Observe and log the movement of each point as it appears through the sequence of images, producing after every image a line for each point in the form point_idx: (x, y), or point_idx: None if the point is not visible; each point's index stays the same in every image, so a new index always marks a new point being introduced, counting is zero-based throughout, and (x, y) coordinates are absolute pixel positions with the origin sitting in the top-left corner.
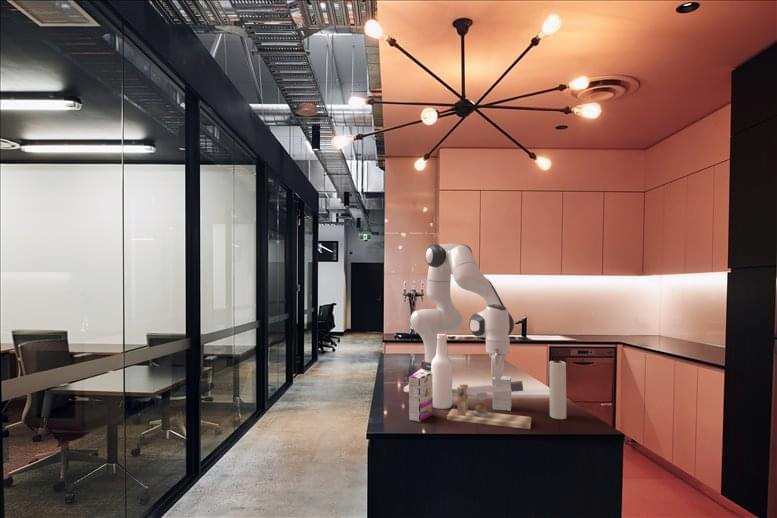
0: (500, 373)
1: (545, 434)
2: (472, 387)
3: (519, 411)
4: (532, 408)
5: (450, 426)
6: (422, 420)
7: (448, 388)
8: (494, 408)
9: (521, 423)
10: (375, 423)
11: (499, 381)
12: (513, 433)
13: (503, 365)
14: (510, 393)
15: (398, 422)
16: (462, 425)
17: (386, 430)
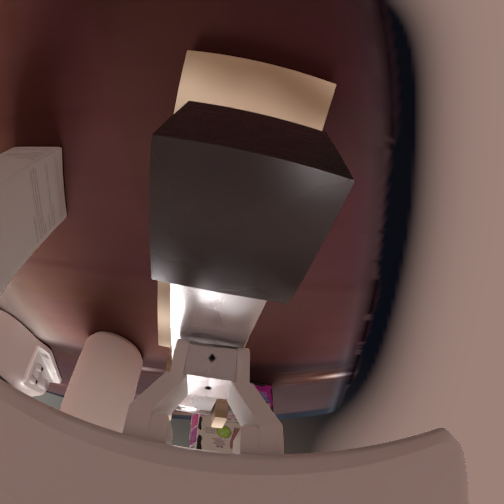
0: (460, 452)
1: (390, 47)
2: (191, 399)
3: (55, 109)
4: (16, 66)
5: (303, 342)
6: (258, 383)
7: (113, 392)
8: (64, 212)
9: (316, 121)
10: (284, 418)
11: (249, 384)
12: (384, 173)
13: (10, 434)
14: (9, 176)
15: (276, 403)
16: (293, 320)
17: (323, 406)
